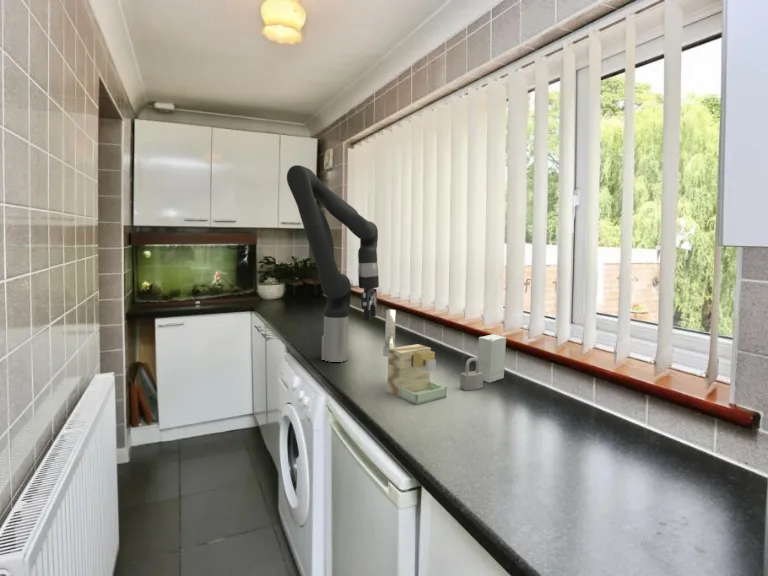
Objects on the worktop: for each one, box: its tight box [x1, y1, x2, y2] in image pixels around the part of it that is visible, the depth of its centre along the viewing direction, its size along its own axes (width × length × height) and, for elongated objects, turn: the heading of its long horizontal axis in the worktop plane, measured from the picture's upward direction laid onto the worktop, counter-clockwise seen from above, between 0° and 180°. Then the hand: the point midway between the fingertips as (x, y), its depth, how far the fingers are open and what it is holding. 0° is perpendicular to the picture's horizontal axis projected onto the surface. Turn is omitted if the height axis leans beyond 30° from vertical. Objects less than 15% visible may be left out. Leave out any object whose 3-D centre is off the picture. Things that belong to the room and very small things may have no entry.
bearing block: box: [386, 343, 432, 398], centre depth 139 cm, size 6×12×14 cm, turn 127°
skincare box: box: [477, 333, 507, 383], centre depth 154 cm, size 8×6×15 cm
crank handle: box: [382, 308, 437, 372], centre depth 139 cm, size 22×3×15 cm, turn 38°
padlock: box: [459, 357, 484, 391], centre depth 144 cm, size 7×4×10 cm, turn 118°
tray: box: [399, 380, 448, 406], centre depth 134 cm, size 7×12×3 cm, turn 127°
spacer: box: [413, 350, 436, 367], centre depth 133 cm, size 4×5×4 cm
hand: (370, 318), depth 168 cm, fingers open, 8 cm apart
